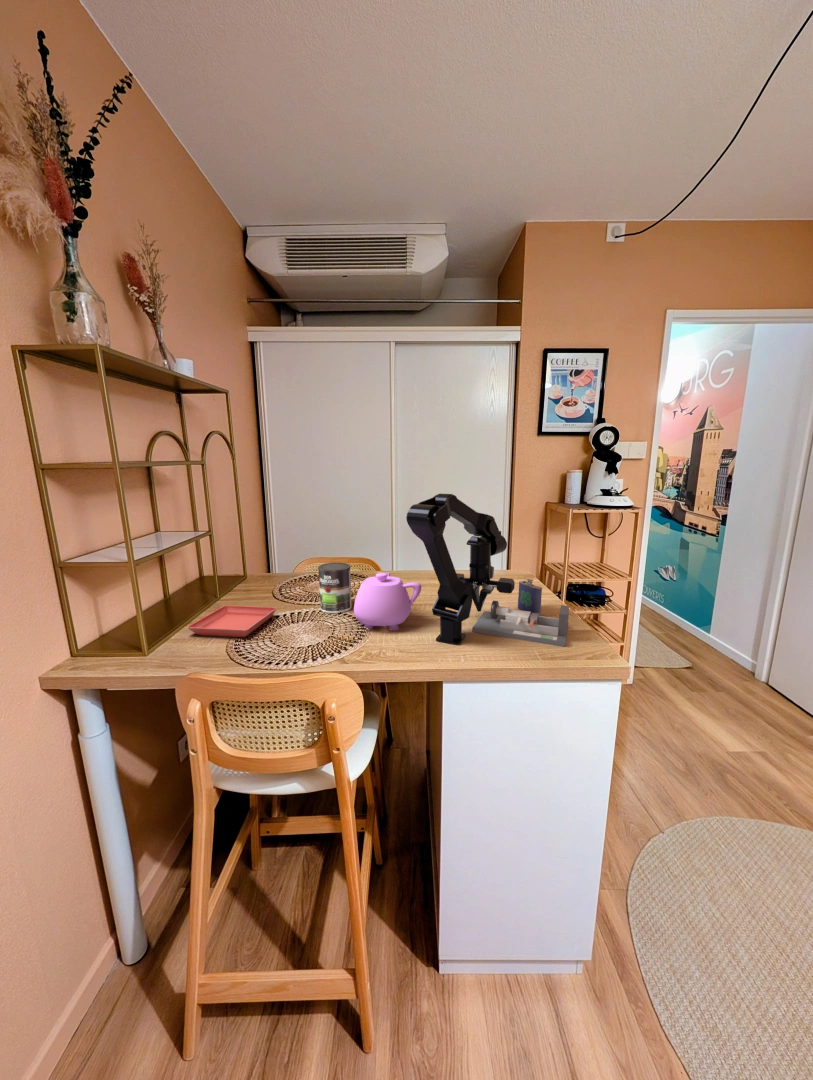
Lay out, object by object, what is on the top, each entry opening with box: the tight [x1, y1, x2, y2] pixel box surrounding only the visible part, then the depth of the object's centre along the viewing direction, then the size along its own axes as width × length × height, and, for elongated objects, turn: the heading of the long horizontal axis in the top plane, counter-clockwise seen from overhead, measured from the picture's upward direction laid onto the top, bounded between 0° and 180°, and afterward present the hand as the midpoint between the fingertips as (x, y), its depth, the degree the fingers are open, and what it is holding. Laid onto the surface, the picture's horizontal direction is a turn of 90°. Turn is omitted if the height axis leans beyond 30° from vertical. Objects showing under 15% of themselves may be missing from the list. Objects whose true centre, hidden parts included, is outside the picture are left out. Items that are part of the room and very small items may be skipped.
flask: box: [517, 578, 543, 616], centre depth 125 cm, size 9×3×11 cm, turn 25°
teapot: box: [353, 572, 422, 631], centre depth 119 cm, size 20×20×15 cm
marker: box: [529, 613, 539, 628], centre depth 109 cm, size 2×9×3 cm, turn 155°
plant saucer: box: [186, 605, 278, 638], centre depth 118 cm, size 18×18×3 cm
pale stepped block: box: [490, 599, 531, 625], centre depth 112 cm, size 10×9×6 cm
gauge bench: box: [471, 604, 570, 647], centre depth 112 cm, size 24×14×7 cm, turn 65°
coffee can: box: [317, 562, 352, 614], centre depth 131 cm, size 10×10×14 cm
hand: (479, 611), depth 117 cm, fingers closed
